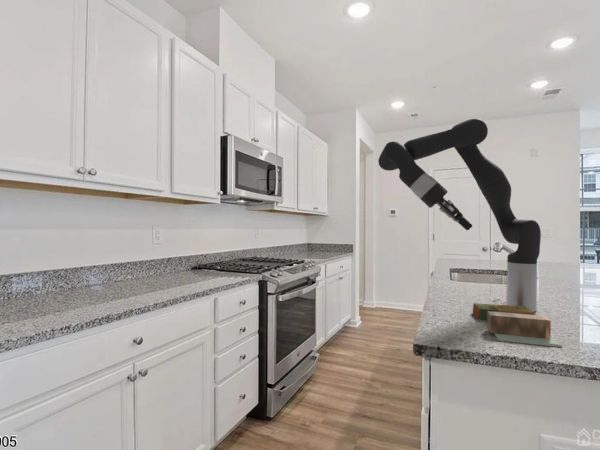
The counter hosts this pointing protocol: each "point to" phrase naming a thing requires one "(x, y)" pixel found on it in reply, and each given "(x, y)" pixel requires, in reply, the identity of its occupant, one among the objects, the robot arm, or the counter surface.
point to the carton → (498, 310)
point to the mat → (529, 340)
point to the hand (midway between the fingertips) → (469, 228)
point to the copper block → (519, 324)
